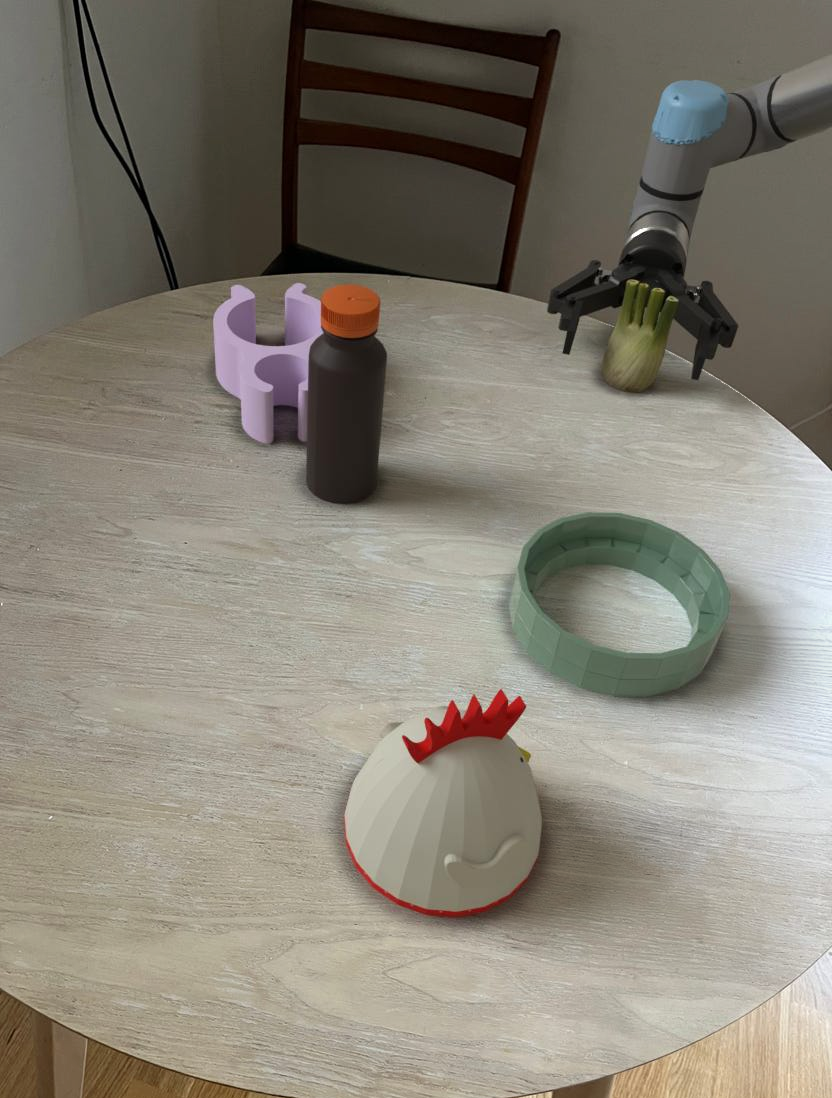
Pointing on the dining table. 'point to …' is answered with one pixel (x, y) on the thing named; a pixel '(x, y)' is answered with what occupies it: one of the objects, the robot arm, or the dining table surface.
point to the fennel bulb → (638, 338)
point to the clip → (266, 359)
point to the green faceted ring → (627, 548)
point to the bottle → (345, 397)
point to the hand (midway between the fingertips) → (632, 355)
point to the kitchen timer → (446, 810)
